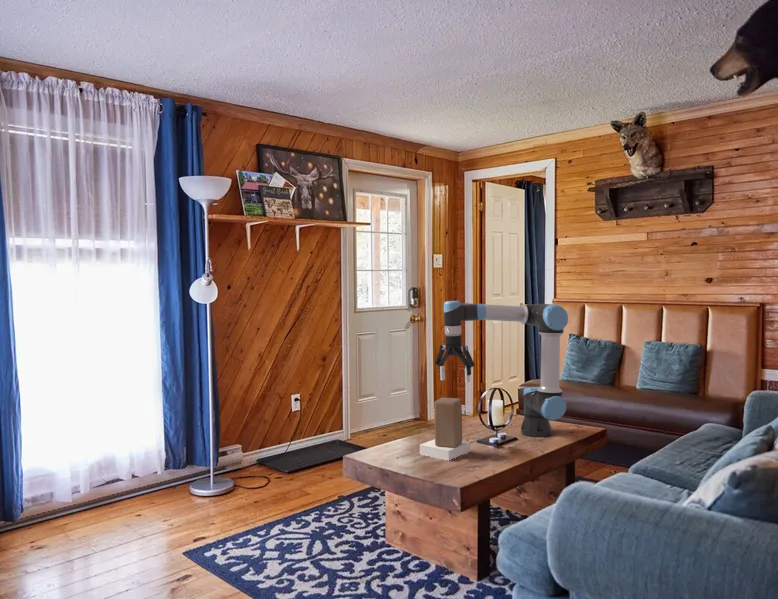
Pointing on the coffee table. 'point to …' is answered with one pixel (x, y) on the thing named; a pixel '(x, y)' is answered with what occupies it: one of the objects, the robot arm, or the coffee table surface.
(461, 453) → the base block
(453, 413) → the block
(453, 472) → the coffee table surface
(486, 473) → the coffee table surface
